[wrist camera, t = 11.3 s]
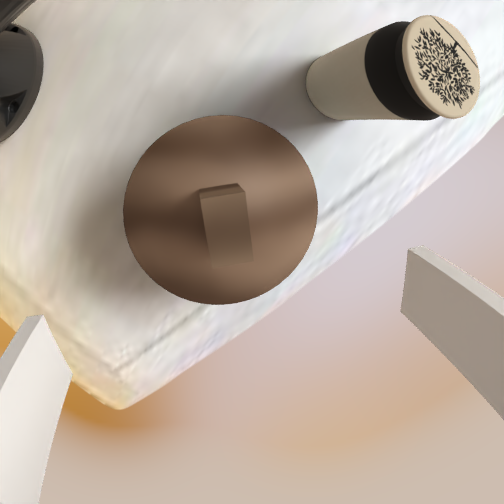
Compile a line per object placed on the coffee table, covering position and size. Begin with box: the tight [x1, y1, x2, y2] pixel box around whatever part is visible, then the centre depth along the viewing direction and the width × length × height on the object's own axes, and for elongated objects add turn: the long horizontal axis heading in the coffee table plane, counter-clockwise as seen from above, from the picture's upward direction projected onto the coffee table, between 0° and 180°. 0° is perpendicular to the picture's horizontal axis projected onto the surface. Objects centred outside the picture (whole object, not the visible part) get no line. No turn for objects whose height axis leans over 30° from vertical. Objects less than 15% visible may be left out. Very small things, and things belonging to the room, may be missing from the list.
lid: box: [123, 115, 318, 305], centre depth 24 cm, size 16×16×5 cm
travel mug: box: [306, 15, 480, 120], centre depth 23 cm, size 8×8×18 cm
